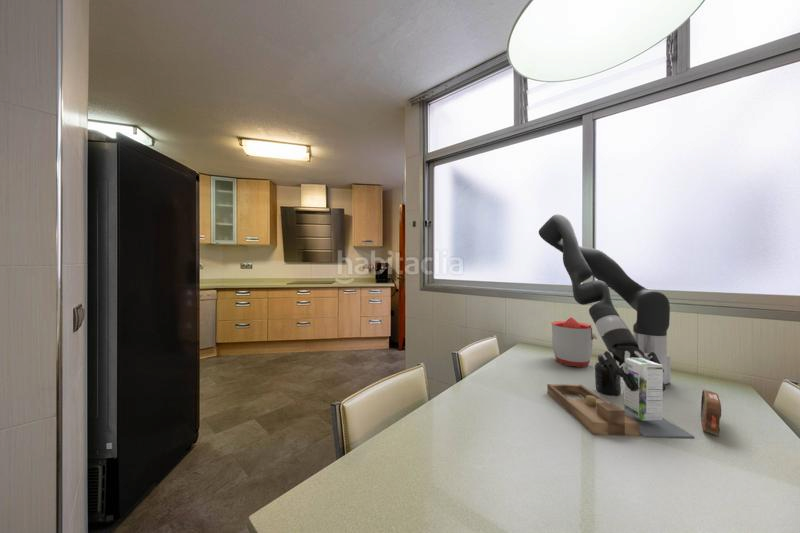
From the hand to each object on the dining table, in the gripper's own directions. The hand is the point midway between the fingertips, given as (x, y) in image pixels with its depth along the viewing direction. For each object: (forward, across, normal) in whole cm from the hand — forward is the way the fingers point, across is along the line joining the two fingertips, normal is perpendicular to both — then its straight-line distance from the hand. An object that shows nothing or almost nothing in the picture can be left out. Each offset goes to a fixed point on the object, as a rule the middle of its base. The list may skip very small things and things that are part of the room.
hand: (648, 390), depth 72 cm
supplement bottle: (-7, -3, -21) cm, 23 cm away
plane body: (+2, +11, -12) cm, 16 cm away
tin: (+6, -16, -7) cm, 18 cm away
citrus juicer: (-28, -9, -42) cm, 51 cm away
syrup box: (+4, 0, -7) cm, 8 cm away
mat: (+6, -1, -8) cm, 10 cm away
